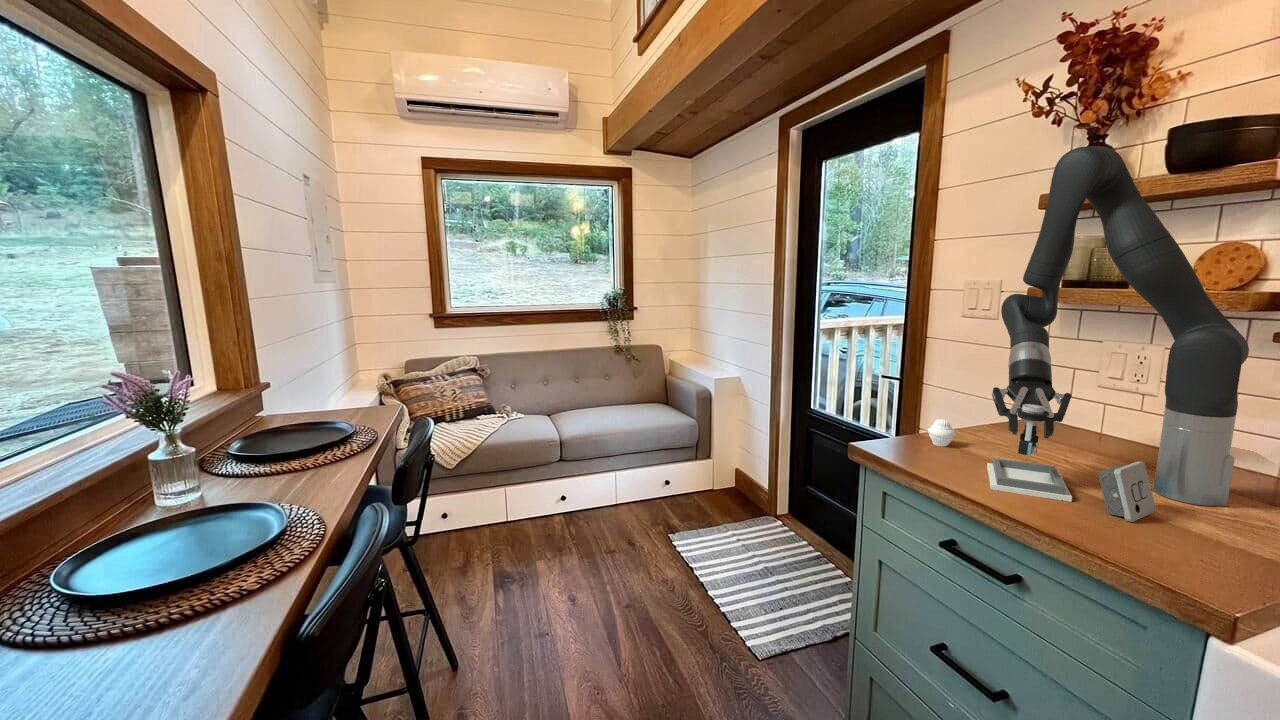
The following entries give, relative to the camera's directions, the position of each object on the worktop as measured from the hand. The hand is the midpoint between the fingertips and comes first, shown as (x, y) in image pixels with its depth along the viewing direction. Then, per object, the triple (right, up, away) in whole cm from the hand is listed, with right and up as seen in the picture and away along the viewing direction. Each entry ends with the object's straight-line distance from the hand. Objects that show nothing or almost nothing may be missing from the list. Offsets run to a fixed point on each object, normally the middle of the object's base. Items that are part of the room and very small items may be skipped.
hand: (1030, 434), depth 106 cm
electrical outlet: (+9, -13, -11) cm, 19 cm away
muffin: (-2, -7, +28) cm, 29 cm away
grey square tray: (+1, -11, +3) cm, 11 cm away
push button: (+1, -4, +2) cm, 5 cm away
